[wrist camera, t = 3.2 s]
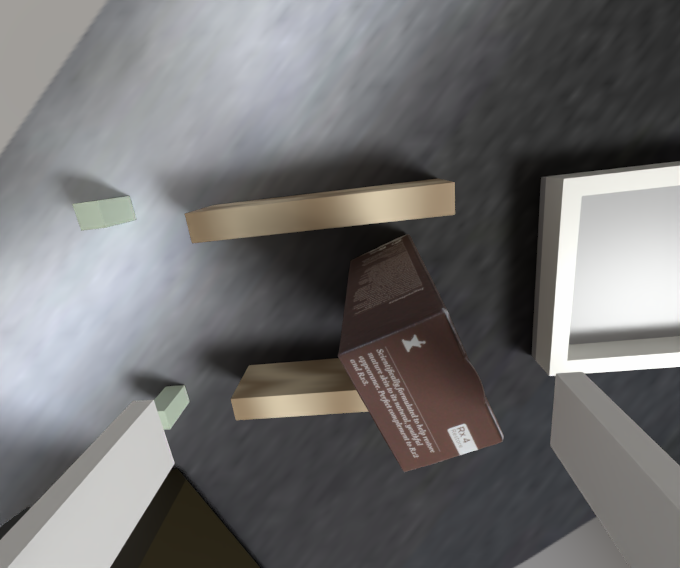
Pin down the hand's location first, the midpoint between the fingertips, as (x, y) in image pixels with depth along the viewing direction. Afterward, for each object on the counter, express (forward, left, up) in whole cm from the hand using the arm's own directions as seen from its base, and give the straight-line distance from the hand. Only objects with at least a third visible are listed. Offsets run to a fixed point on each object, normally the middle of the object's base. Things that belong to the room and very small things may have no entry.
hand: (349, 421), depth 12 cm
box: (+3, 0, -13) cm, 14 cm away
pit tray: (+18, 0, -13) cm, 22 cm away
